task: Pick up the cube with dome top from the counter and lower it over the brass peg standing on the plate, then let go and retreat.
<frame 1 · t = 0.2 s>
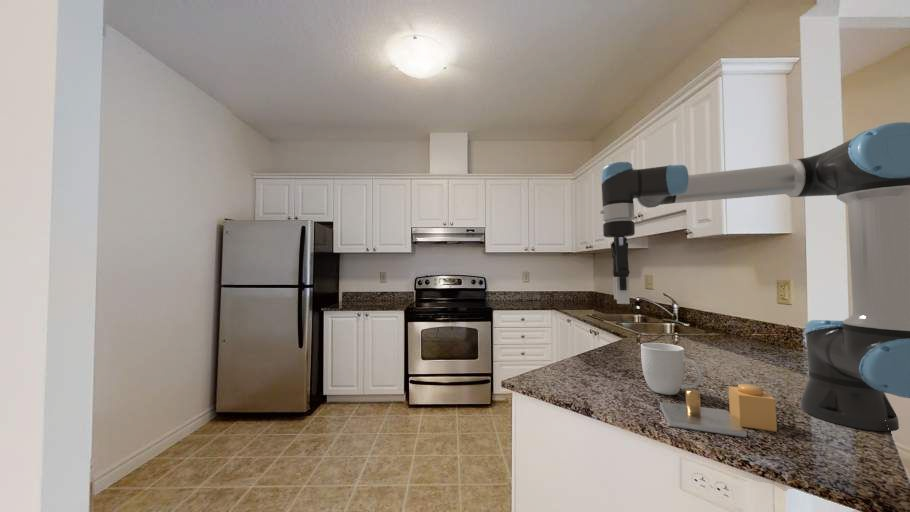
hand: (621, 301, 88), 28 cm above the worktop, fingers open, 13 cm apart
plate with brass peg: (698, 420, 79), on the worktop
mug: (667, 392, 97), on the worktop
cube with dome top: (752, 422, 77), on the worktop
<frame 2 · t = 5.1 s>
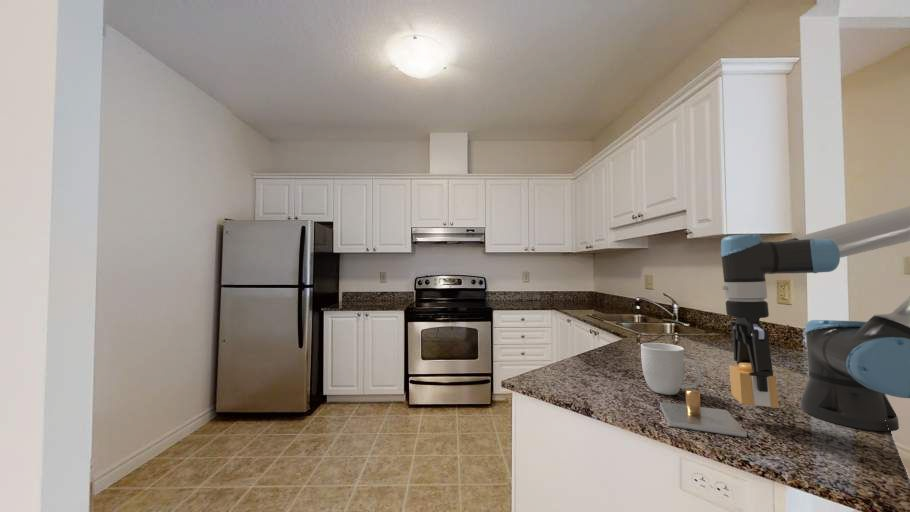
hand: (755, 399, 77), 5 cm above the worktop, fingers closed on cube with dome top, 6 cm apart
cube with dome top: (753, 400, 77), point 5 cm above the worktop, touching gripper
everything else where it was.
when the fingers open (2 cm above the worktop, at t = 9.5 s): cube with dome top stays where it is, resting on plate with brass peg.
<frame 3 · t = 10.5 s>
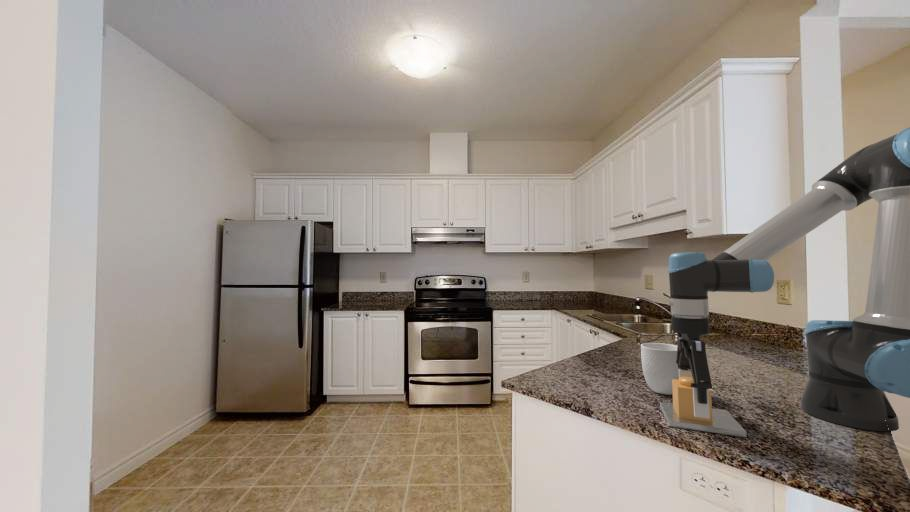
hand: (693, 405, 79), 3 cm above the worktop, fingers open, 13 cm apart
cube with dome top: (691, 414, 79), point 1 cm above the worktop, touching plate with brass peg
everything else where it was.
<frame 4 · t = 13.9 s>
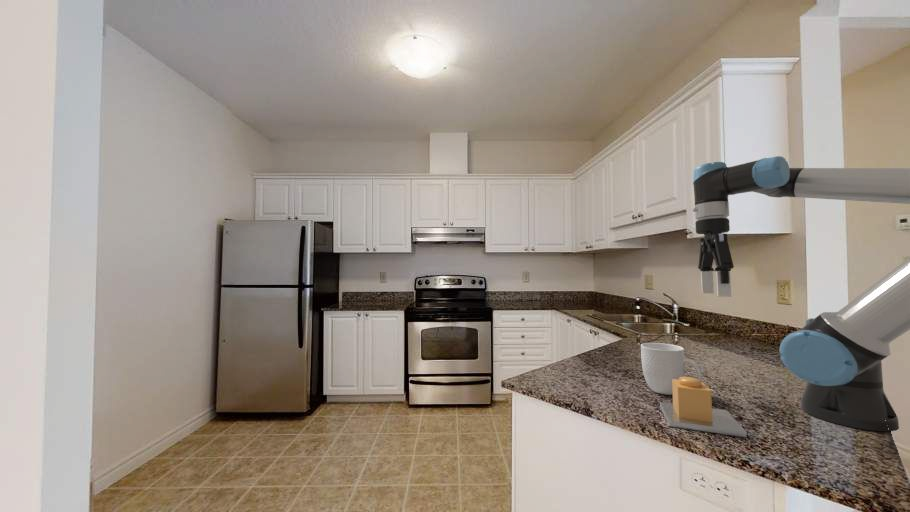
hand: (715, 294, 92), 29 cm above the worktop, fingers open, 13 cm apart
nothing on the worktop moved.
at the end: cube with dome top 0.4 cm off-centre on the plate with brass peg, point 1.2 cm above the plate with brass peg's base; cube with dome top tilted 0°; the gripper is holding nothing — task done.
